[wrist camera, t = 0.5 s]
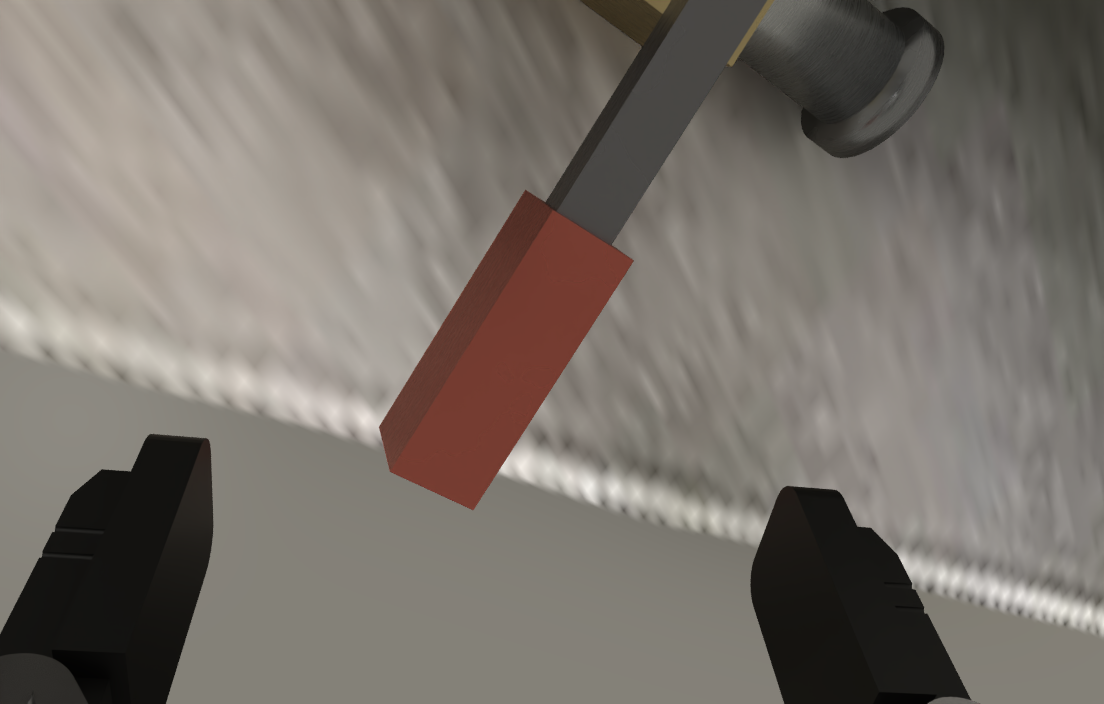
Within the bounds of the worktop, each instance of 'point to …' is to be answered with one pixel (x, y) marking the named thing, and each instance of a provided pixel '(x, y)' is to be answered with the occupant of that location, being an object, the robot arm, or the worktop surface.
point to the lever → (553, 266)
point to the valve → (826, 62)
